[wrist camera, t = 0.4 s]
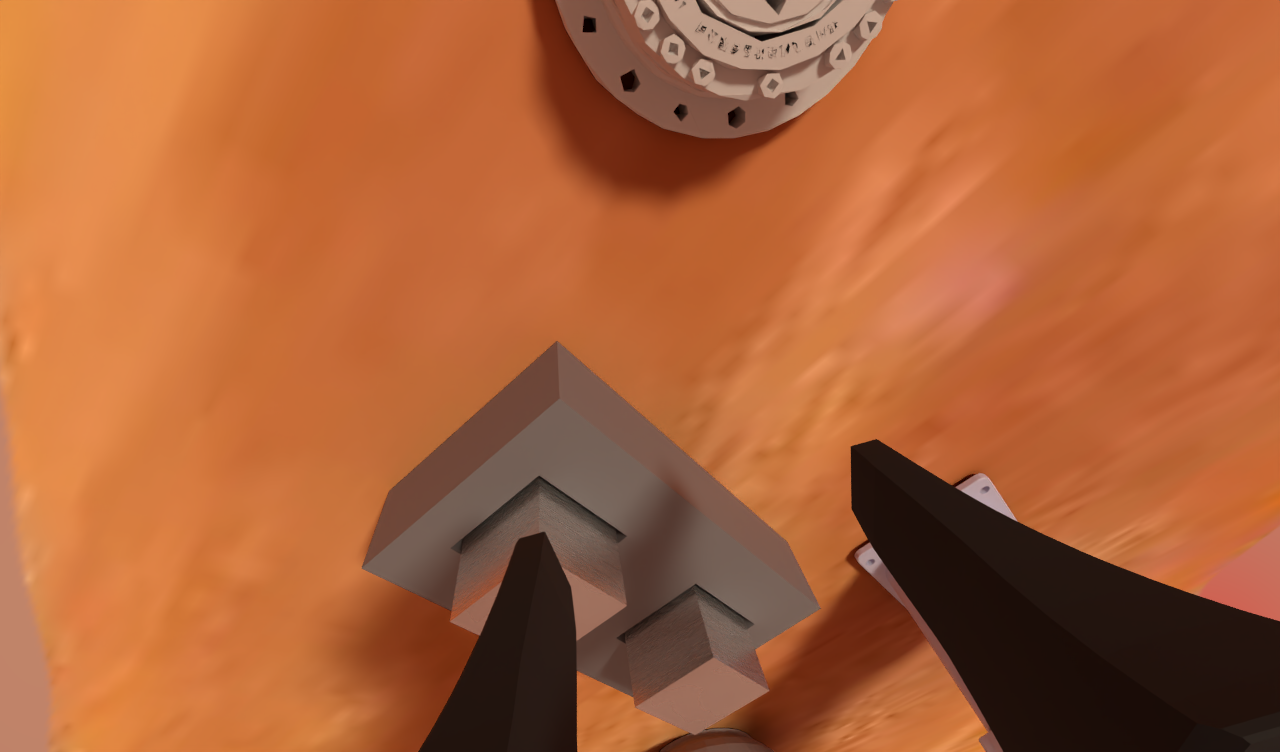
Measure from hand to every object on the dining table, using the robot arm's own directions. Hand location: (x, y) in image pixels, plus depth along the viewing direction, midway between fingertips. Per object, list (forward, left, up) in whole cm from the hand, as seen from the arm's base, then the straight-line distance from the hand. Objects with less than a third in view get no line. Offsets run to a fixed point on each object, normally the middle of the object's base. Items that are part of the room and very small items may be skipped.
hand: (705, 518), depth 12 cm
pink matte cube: (-11, +8, -7) cm, 15 cm away
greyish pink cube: (-2, +8, -7) cm, 10 cm away
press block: (-6, +8, -10) cm, 14 cm away
